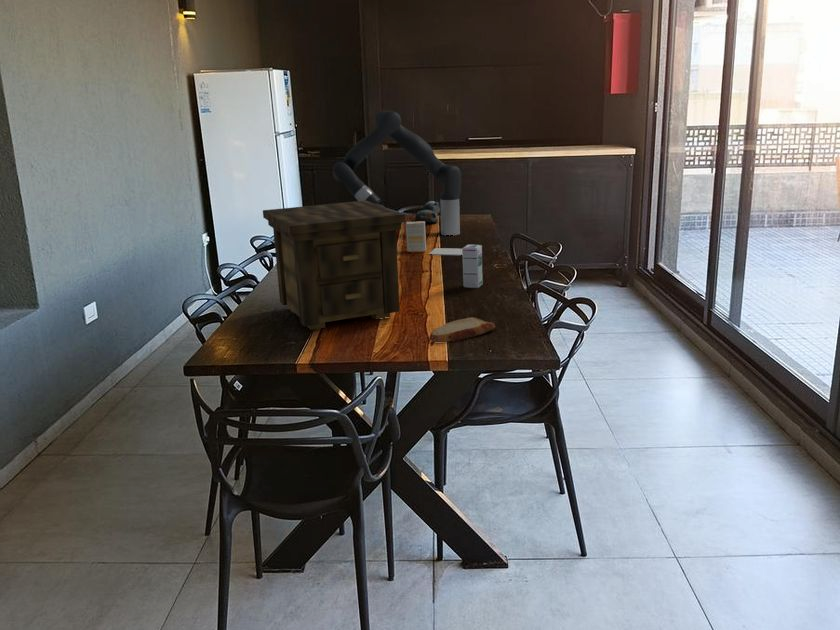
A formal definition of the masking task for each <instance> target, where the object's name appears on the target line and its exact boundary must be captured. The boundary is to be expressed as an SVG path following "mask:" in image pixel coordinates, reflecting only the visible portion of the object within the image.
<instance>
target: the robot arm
mask: <svg viewBox="0 0 840 630" xmlns="http://www.w3.org/2000/svg"><path fill="white" fill-rule="evenodd" d="M374 122H375V126H376V128H375V129H374V130H373V131H372V132H370V133H369V134H368V135H366V136H365V137H363V138H362V139H360V140H358V141H357V142H356V144H354V145H353V147H352V148H351V149H349V150H348V152H346V154H345V157H344V158H343V159H342V160H341V161H337V162H336V163H334V165H333V167H332V175H333V178H334V180H336V181H338V182H342V184H343V185H344V186H345V187H346V189H347V190H348V192H349V193H350V194H351V195H352V196H353V197H354V198H355V199H356V200H357V201H369V202H371V203H374V204H377V205H380V206H383V207H386V206H384V205H382V204H381V203H380V202H381V198H380V197H379V196H378V195H377V194H376V193H375V192H374V191H373V190H372V189H371V188H370V187H369V186H367V185H366V184H365V183H364V182H363V181H362V180H361V179H360V178H359V177H358V176H357V175H356V173H355V169H356V168H357V167H358V165H360V164H361V163H362V162H363V161H364V160H365V159H366V158H367V157H368V156H369V154H370V153H372V151H373V150H374V149H376V148H377V147H378V146H379V145H381V143H382V142H383V141H385V140H386V139H387V138H389V137H390V138H391V139H393V140H394V141H395V142H396V143H397V144H398V145H399V146H400V147H401V148H402V149H404V151H406V153H408V155H410V156H411V157H412V158H413V159H414V160H416V161H417V162H418V163H419V164H420V165H422V167H424V168H425V169H426V170H428V171H429V173H430V174H431V175H433V177H434V178H435V179H436V180H437V181H438V182H439V183H440V184H442V185H444V190H443V191H442V192H440V194H439V199H440V200H439V207H440V231H441V232H440V233H441V235H442V236H446V235H449V236H450V235H453V236H458V235H460V234H461V227H460V226H461V223H460V222H461V215H460V214H461V213H460V196H461V192H462V172H461V170H460V168H459V167H458V166H456V165H451V164H446V163H444V162H443V161H442V160H440V159H439V158H438V157H437V156H436V155H435V153H434V150H433V149H432V146H431V145H430V144H429V143H428V142H427V141H426V140H424V139H423V138H422V137H421V136H419V134H416V133H415V132H413V131H412V130H409V129H408V128H406V127H405V126H403V125H402V118H401V116H400V114H399V113H398V112H396V111H394V110H389V109H383V110H382V109H381V110H380V111H378V112H377V113H376V114H375V116H374ZM386 208H388V207H386Z"/></svg>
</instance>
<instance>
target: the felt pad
mask: <svg viewBox="0 0 840 630" xmlns="http://www.w3.org/2000/svg"><path fill="white" fill-rule="evenodd" d="M429 254H432V255H431V256H434V255H435V256H461V255H462V248H452V247H451V248H446V247H442V248H440V247H435V248H433V250H431V251H430V252H429V253H428V255H429Z"/></svg>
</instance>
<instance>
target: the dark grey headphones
mask: <svg viewBox="0 0 840 630" xmlns="http://www.w3.org/2000/svg"><path fill="white" fill-rule="evenodd" d="M419 209H420V210H419V211H417V213H416V214H415V218H414V219H413V222H417V221H425V223H431V224H438V223H439V222H438V221H439V217H438V215H439V213H441V206H440V200H437V201H434V200H430V201H427V202H426V203H425V204H424V205H421V206H420V207H419Z"/></svg>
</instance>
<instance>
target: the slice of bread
mask: <svg viewBox="0 0 840 630" xmlns="http://www.w3.org/2000/svg"><path fill="white" fill-rule="evenodd" d="M495 329H496V325H495V323H494V322H491V321H485V320H483V319H481V318H477V317H473V316H472V317H466V318H462V319H461V318H459V319H457V320H453V321H450V322H447V323H445V324H443V325H441V326H439V327H437V328H434V329H433V331H431V333H430V335H429V340H430V339H431V340H432V341H433V342H447V341H453V342H455V341H454V340H458V341H460V340H459V339H463V340H465V339H464V338H467V339H470V338H469V337H471V338H474V336H475V337H477V335H478V336H481V335H485V334H487V333H489V332H492V331H493V330H495ZM433 342H432V343H433ZM447 343H448V342H447Z"/></svg>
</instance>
